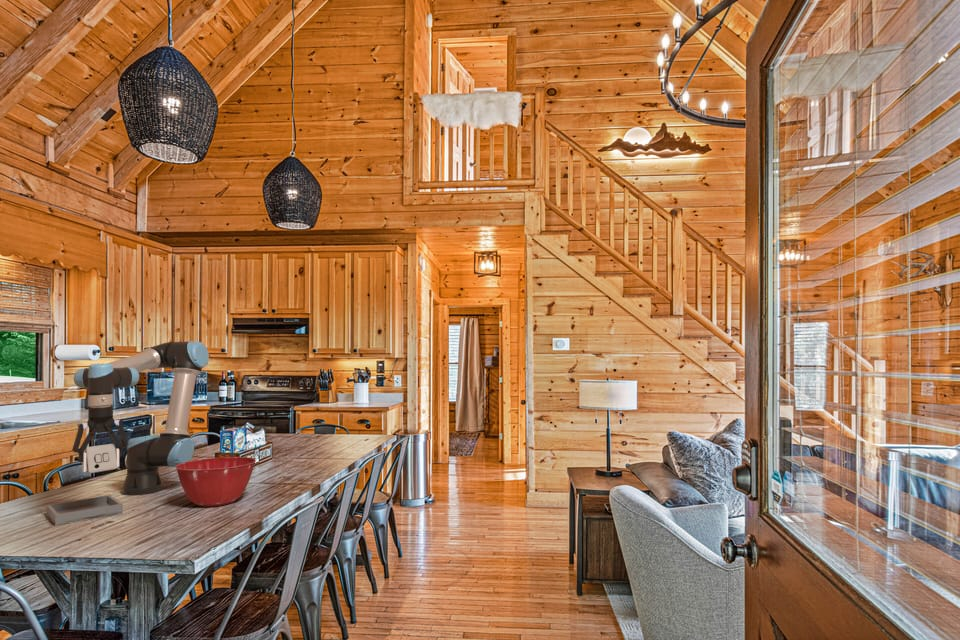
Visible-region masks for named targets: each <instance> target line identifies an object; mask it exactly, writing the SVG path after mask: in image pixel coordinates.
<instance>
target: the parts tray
mask: <svg viewBox="0 0 960 640" xmlns="http://www.w3.org/2000/svg"><path fill="white" fill-rule="evenodd" d="M123 507H124V505H123V503H122V502H120V501H119V500H118V499H117V498H116V497H114V496H112V495H111V494H109V495H102V496H96V497H90V498H83V499H75V500H71V501H65V502H64V501H63V502H58V503H52V504H46V514H47V515H48V516H47V515H46V516H47V517H48V519H49V518H50V519H51V520H52V521H51V520H50V519H49V520H50V521H51V523H52V524H53V523H54V524H55V525H58V526H60V525H59V524H63V525H65V524H64V523H69V522H74V523H76V522H75V521H80V520H85V521H88V520H87V519H91V520H95V519H94V518H96V519H100V517H102V518H106V517H107V516H108V517H113V516H117V515H123V509H124V508H123ZM80 522H81V521H80ZM54 524H53V525H54ZM69 524H70V523H69ZM55 525H54V526H55Z"/></svg>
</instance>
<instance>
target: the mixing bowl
mask: <svg viewBox="0 0 960 640" xmlns="http://www.w3.org/2000/svg"><path fill="white" fill-rule="evenodd" d="M256 461H257V460H256V458H253V457H249V456H248V457H247V456H246V457H245V456H224V457H223V456H221V457H211V458H210V457H209V458H201V459H195V460H190V461H188V462H185V463H181V464H179V465H177V466H176V467H174V468H175V469H176V472H177V475H178V480H179V482H180V484H181V487H182V489H183V491H184V493H185V495H186V497H187V498H188V499H189V501H191V502H192V503H193V504H195V505H197V506H199V507H206V508H207V507H209V508H210V507H218V506H219V507H220V506H224V505H225V506H226V505H229V504H232V503H234V502H235V501H236V500H238V499H239V498H240V497H242V495H243V494H244V492H245V491H246V488H247V486H248V485H249V482H250V479H251V477H252V474H253V471H254V467H255V463H256Z"/></svg>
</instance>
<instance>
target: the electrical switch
mask: <svg viewBox="0 0 960 640" xmlns="http://www.w3.org/2000/svg"><path fill="white" fill-rule="evenodd" d="M115 448H116V444H115V443H108V444H102V445H101V444H100V445H94V446H87V447H86V449H85V451H84V452H85V453H86V472H87V473H88V474H95V473H101V472H105V471H106V472H107V471H112V470H115V469H117V468H118V467H117V459H116V450H115Z"/></svg>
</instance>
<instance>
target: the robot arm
mask: <svg viewBox="0 0 960 640" xmlns="http://www.w3.org/2000/svg"><path fill="white" fill-rule="evenodd" d="M209 361H210V355H209V350H208V349H207V346H206V345H205V344H204V343H203V342H201V341H195V340H194V341H193V340H191V341H190V340H189V341H168V342H163V343H160V344H157V345H153V346H151V347H148V348H145V349H143V350H142V351H141V352H139V353H137V354H132V355H130V356H126V357H123V358H120V359H117V360H114V361H110V362H107V363H91V364H90V365H89V366H88V367H85V368H84V367H83V368H80V369H79V368H78V369H77V370H76V371H75V373H74V375H73V382H74V384H75V386H76V387H78V388H80V389H82V388H83V389H87V390H88V397H87V398H88V401H87V402H88V403H87V404H88V406H87V407H89V408H87V409H88V411H87V412H88V413H87V414H88V416H87V418H88V419H87V421H86V422H85V423H84V422H83V423H77V432H76V435H75V440H74V443H73V445H72V448H71V451H72V452H74V453H77V454H78V462H79V463H81V471H82V472H83V473H85V472H87V465H86V453H85V449H86V448H87V447H89V446H88V445H89V444H90V442H91V440H92V438H93V437H94V436H95V434H99V433H107V434H108V435H109V436H110V439H111V440H112V442H113V444H115V450H116V459H117V468H119V467H120V458H121V457H122V456H123V448H124V447H126V476H125V478H124V481H123V484H122V488H121V494H122V495H124V496H139V495H146V494H152V493H153V494H154V493H157V492H159V491H162V490H163V489H164V482H163V480H162V477H161V473H160V472H159V471H160V470H159V467H168V468H169V467H170V468H175V467H176V466H177V465H179V464H181V463H185V462H189V461H191V459H192V457H193V456H194V451H195V443H194V441H193V439H191V434H190V433H189V431H188V427H189V421H190V415H191V411H192V410H191V409H192V404H193V397H194V390H195V385H196V378H197V376H199V375H200V374H201V372H202V369H204V368H205V367H207V366H208V364H209ZM164 368H165V369H168V368H169V369H171V372H172V373H173V375H174V376H173V382H172V386H171V387H172V388H171V391H170V392H171V393H170V399H169V403H168V409H167V410H168V411H167V415H166V421H165V426H164V429H163V430H162V431H161V432H160V433H159V434H151V435H145V436H138V437H132V438H130V439H129V440H128V439H127V436H126V433H125V429H124V420H123V419H115V418H114V407H113V405H114V389H121V388H130V387H133V386H135V385H136V384H138V382H139V381H140V373H141V372H144V371H146V370H150V371H152V370H156V369H164ZM114 424H115V426H116V427H117V431H118V435H119V436H120V439H121V441H120V440H119V438H118V437H117V435H116V434H115V432H114V430H113V429H112V426H114ZM87 427H88V428H89V429H90V430H89V431H88V433H87V435H86V437H85V438H84V440H83V442H82V438H83V435H84V430H86V428H87ZM81 442H82V443H81Z"/></svg>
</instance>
